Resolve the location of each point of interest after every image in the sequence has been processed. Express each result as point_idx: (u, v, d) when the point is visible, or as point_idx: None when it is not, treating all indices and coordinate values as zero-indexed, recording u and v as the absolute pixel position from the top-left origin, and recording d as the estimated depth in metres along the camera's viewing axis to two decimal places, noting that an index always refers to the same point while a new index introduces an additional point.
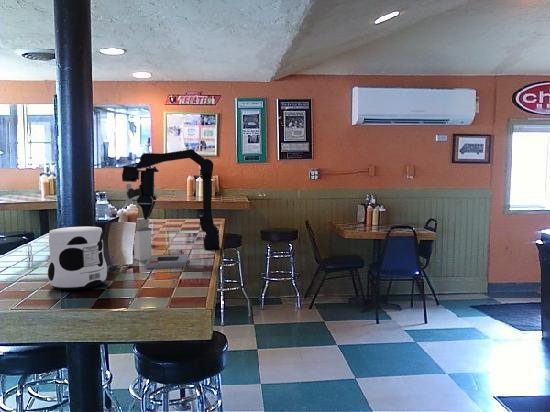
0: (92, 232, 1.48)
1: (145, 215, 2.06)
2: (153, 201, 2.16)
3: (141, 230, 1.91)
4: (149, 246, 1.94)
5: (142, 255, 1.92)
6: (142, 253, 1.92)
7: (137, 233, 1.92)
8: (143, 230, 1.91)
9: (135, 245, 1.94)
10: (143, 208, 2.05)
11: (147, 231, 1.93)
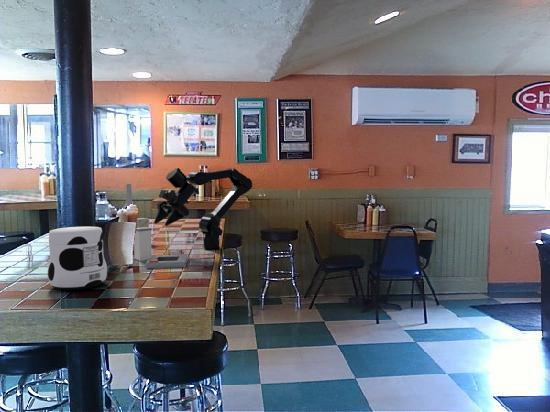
0: (92, 232, 1.48)
1: (169, 221, 1.96)
2: (168, 213, 2.07)
3: (141, 230, 1.91)
4: (149, 246, 1.94)
5: (142, 255, 1.92)
6: (142, 253, 1.92)
7: (137, 233, 1.92)
8: (143, 230, 1.91)
9: (135, 245, 1.94)
10: (173, 215, 1.96)
11: (147, 231, 1.93)
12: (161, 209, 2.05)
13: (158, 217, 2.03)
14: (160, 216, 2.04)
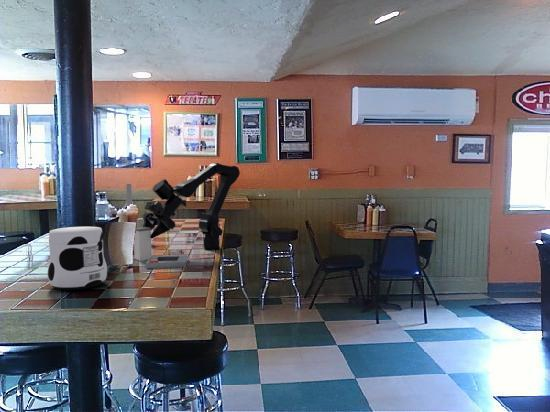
0: (92, 232, 1.48)
1: (154, 234, 1.92)
2: (154, 225, 2.03)
3: (141, 230, 1.91)
4: (149, 246, 1.94)
5: (142, 255, 1.92)
6: (142, 253, 1.92)
7: (137, 233, 1.92)
8: (143, 230, 1.91)
9: (135, 245, 1.94)
10: (158, 227, 1.92)
11: (147, 231, 1.93)
12: (147, 221, 2.01)
13: None
14: None
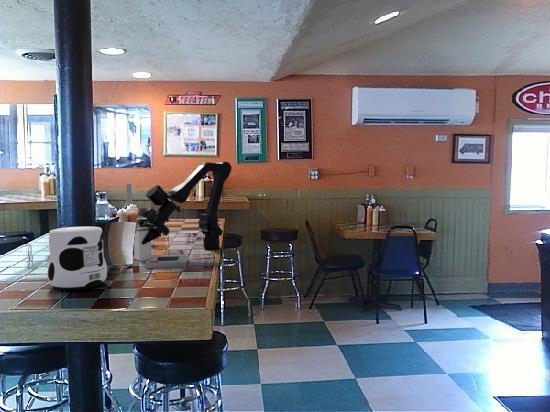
0: (92, 232, 1.48)
1: (146, 240, 1.92)
2: None
3: (141, 230, 1.91)
4: (149, 246, 1.94)
5: (142, 255, 1.92)
6: (142, 253, 1.92)
7: (137, 233, 1.92)
8: (143, 230, 1.91)
9: (135, 245, 1.94)
10: (150, 233, 1.92)
11: (147, 231, 1.93)
12: None
13: None
14: None
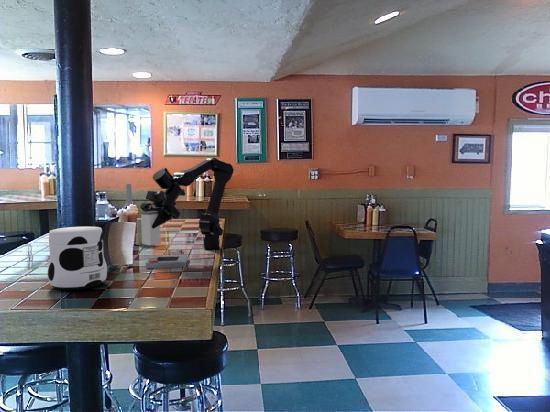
0: (92, 232, 1.48)
1: (156, 224, 1.87)
2: None
3: (151, 213, 1.86)
4: (158, 230, 1.89)
5: (152, 239, 1.87)
6: (152, 237, 1.87)
7: (146, 217, 1.86)
8: (153, 213, 1.86)
9: (143, 229, 1.88)
10: (160, 217, 1.87)
11: (156, 214, 1.88)
12: None
13: None
14: None
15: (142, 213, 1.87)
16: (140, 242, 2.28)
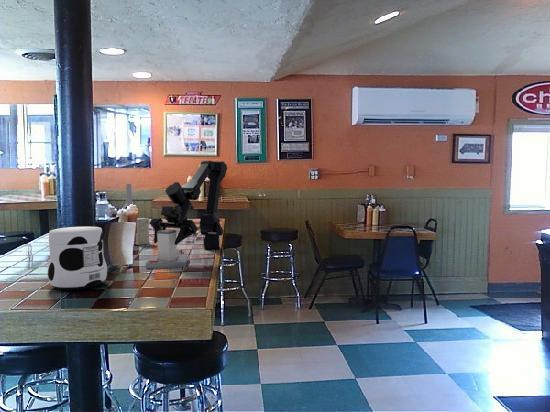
0: (92, 232, 1.48)
1: (178, 240, 1.82)
2: None
3: (170, 232, 1.82)
4: (175, 249, 1.85)
5: (171, 259, 1.83)
6: (171, 256, 1.83)
7: (165, 236, 1.81)
8: (171, 232, 1.82)
9: (160, 249, 1.83)
10: (182, 232, 1.83)
11: (174, 233, 1.84)
12: (158, 227, 1.88)
13: None
14: None
15: (159, 232, 1.82)
16: (140, 242, 2.28)
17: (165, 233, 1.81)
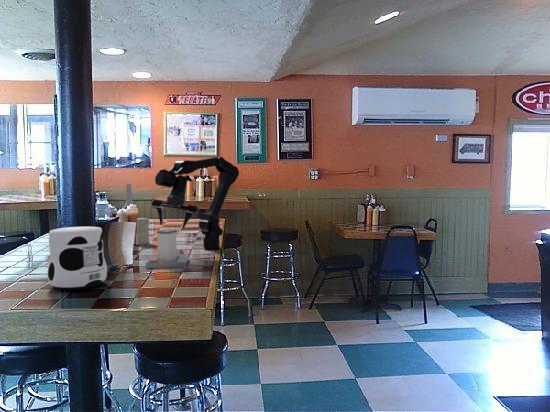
0: (92, 232, 1.48)
1: (185, 224, 2.01)
2: None
3: (170, 232, 1.82)
4: (175, 249, 1.85)
5: (171, 259, 1.83)
6: (171, 256, 1.83)
7: (165, 236, 1.81)
8: (171, 232, 1.82)
9: (160, 249, 1.83)
10: None
11: (174, 233, 1.84)
12: (161, 210, 2.00)
13: (162, 218, 2.01)
14: (162, 216, 2.01)
15: (159, 232, 1.82)
16: (140, 242, 2.28)
17: (165, 233, 1.81)
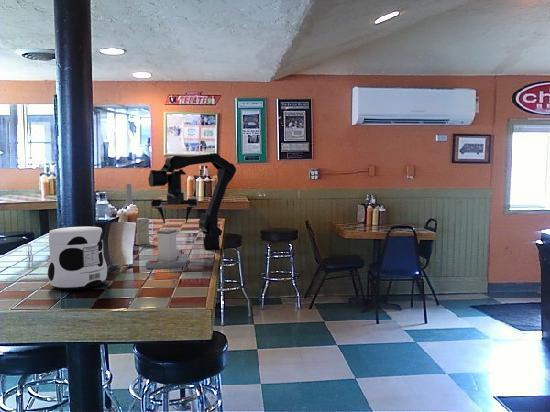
0: (92, 232, 1.48)
1: None
2: (163, 206, 2.07)
3: (170, 232, 1.82)
4: (175, 249, 1.85)
5: (171, 259, 1.83)
6: (171, 256, 1.83)
7: (165, 236, 1.81)
8: (171, 232, 1.82)
9: (160, 249, 1.83)
10: None
11: (174, 233, 1.84)
12: (162, 208, 2.03)
13: (164, 216, 2.05)
14: (163, 214, 2.05)
15: (159, 232, 1.82)
16: (140, 242, 2.28)
17: (165, 233, 1.81)
